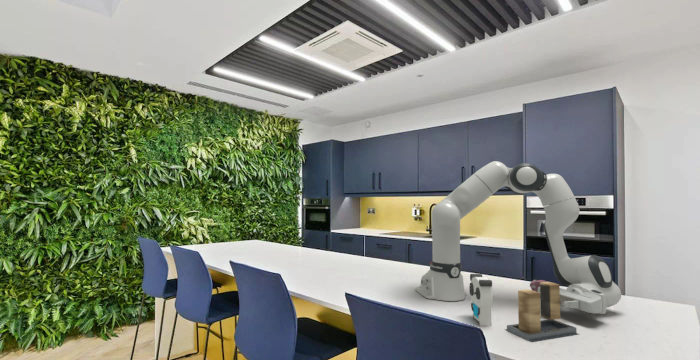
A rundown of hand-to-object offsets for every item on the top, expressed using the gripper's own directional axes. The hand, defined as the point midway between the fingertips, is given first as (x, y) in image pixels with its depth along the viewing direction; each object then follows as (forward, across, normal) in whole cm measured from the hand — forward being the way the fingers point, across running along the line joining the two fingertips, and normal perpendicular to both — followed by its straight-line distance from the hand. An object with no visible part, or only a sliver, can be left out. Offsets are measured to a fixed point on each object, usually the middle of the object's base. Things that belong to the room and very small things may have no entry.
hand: (550, 300), depth 117 cm
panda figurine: (+25, -4, +7) cm, 26 cm away
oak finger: (0, 0, +6) cm, 6 cm away
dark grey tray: (+14, +9, +6) cm, 18 cm away
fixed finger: (+19, +9, +5) cm, 22 cm away
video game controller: (-27, -27, +7) cm, 38 cm away
